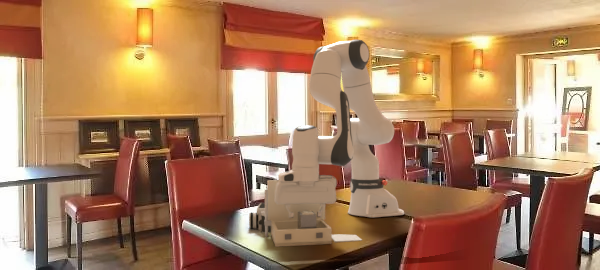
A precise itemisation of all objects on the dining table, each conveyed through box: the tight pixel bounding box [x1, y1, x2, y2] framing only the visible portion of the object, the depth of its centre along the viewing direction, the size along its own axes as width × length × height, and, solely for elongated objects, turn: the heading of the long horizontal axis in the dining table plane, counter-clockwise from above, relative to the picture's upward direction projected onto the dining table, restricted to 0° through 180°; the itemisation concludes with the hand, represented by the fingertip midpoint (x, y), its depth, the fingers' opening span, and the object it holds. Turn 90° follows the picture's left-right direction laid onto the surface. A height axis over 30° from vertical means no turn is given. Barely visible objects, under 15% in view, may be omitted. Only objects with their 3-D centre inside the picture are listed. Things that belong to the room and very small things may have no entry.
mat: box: [332, 233, 363, 243], centre depth 153 cm, size 9×9×1 cm
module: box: [298, 210, 316, 229], centre depth 150 cm, size 5×7×8 cm
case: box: [264, 179, 333, 248], centre depth 151 cm, size 21×15×19 cm
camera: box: [248, 202, 271, 234], centre depth 169 cm, size 16×9×10 cm, turn 4°
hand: (305, 217), depth 150 cm, fingers open, 8 cm apart
